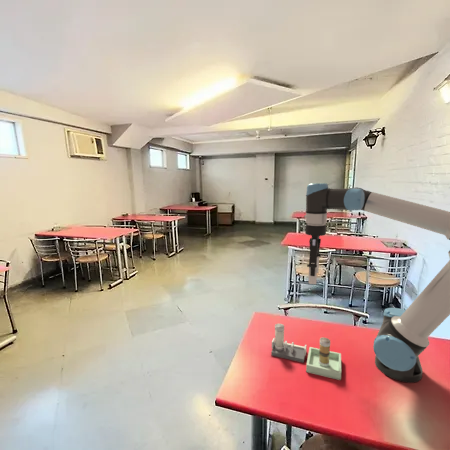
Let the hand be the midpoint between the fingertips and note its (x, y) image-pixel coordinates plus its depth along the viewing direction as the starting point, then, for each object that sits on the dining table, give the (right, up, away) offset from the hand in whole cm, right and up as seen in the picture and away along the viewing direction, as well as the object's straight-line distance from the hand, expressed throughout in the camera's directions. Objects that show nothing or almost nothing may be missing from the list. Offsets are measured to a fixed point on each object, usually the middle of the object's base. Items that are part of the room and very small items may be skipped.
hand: (313, 277), depth 104 cm
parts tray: (+4, -34, -1) cm, 34 cm away
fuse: (-12, -32, +9) cm, 35 cm away
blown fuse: (+4, -33, -1) cm, 34 cm away
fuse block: (-8, -33, +7) cm, 35 cm away
